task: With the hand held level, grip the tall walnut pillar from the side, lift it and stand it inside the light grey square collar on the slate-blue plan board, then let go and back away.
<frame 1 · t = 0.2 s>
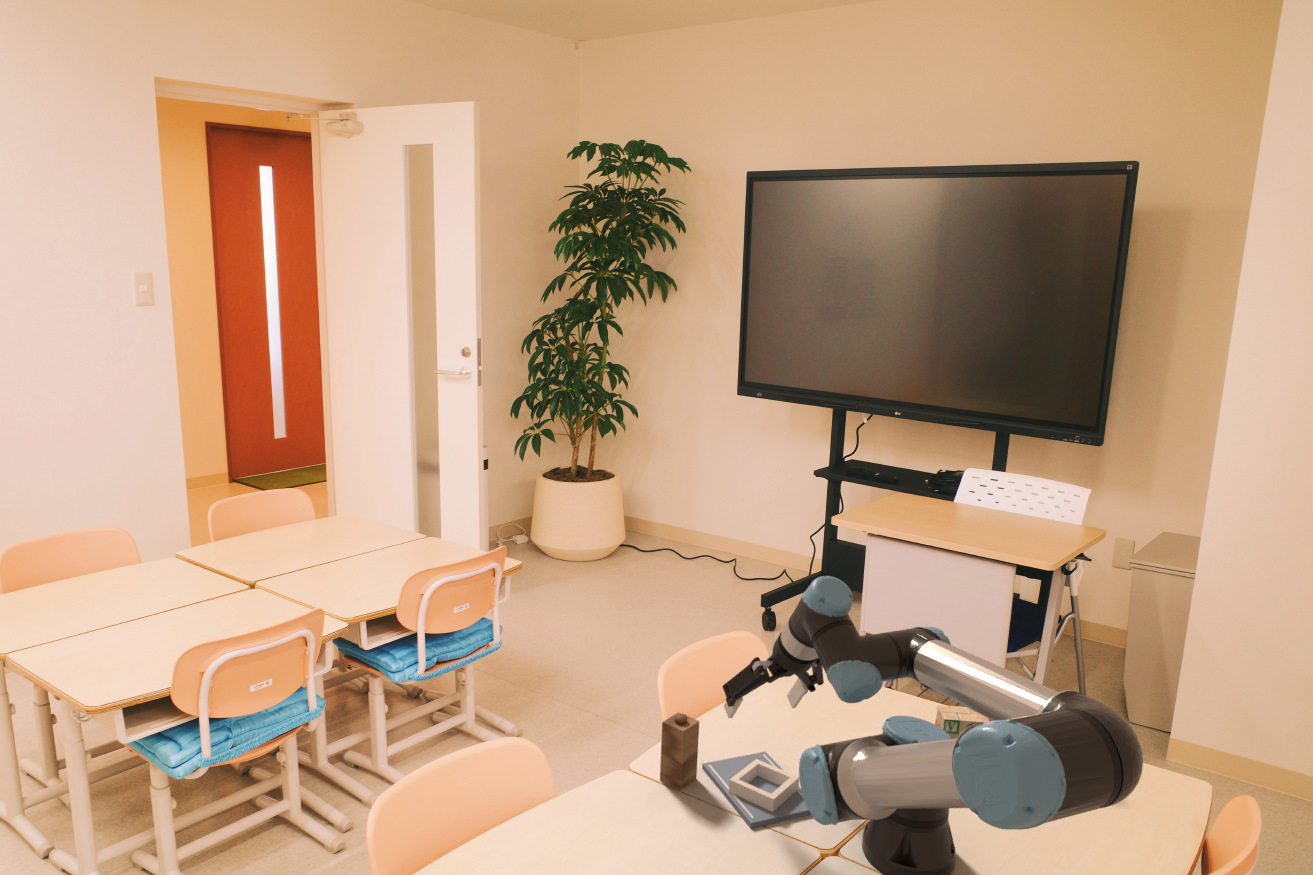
hand: (759, 706, 168), 15 cm above the table, tool tilted 35°, fingers open, 13 cm apart
plan board: (758, 789, 167), on the table
pillar: (678, 779, 169), on the table
socket collar: (763, 795, 165), resting on plan board
stack of blocks: (989, 758, 181), on the table
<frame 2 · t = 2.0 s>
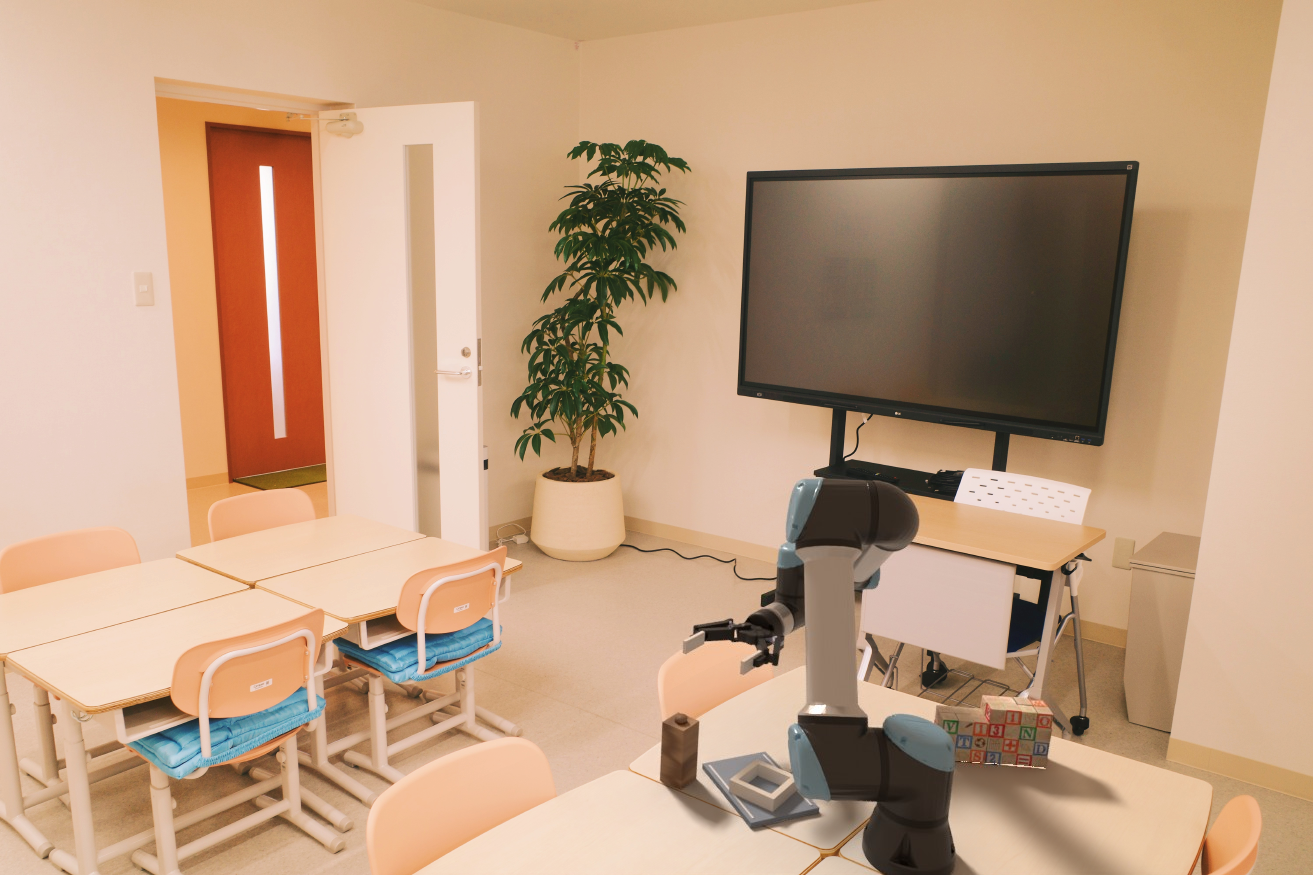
hand: (712, 657, 173), 22 cm above the table, tool horizontal, fingers open, 13 cm apart
nothing on the table moved.
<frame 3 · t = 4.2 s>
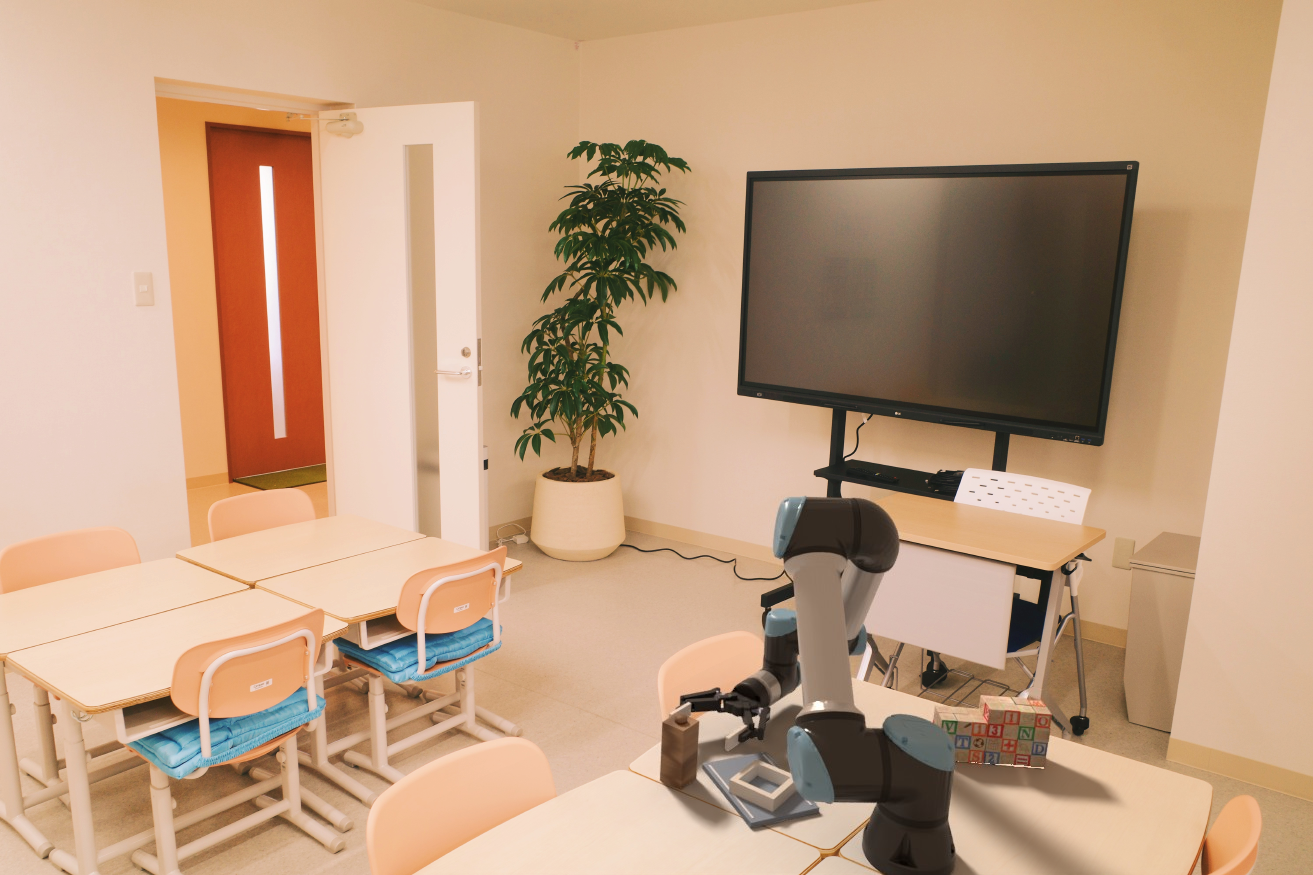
hand: (697, 731, 173), 7 cm above the table, tool horizontal, fingers open, 13 cm apart
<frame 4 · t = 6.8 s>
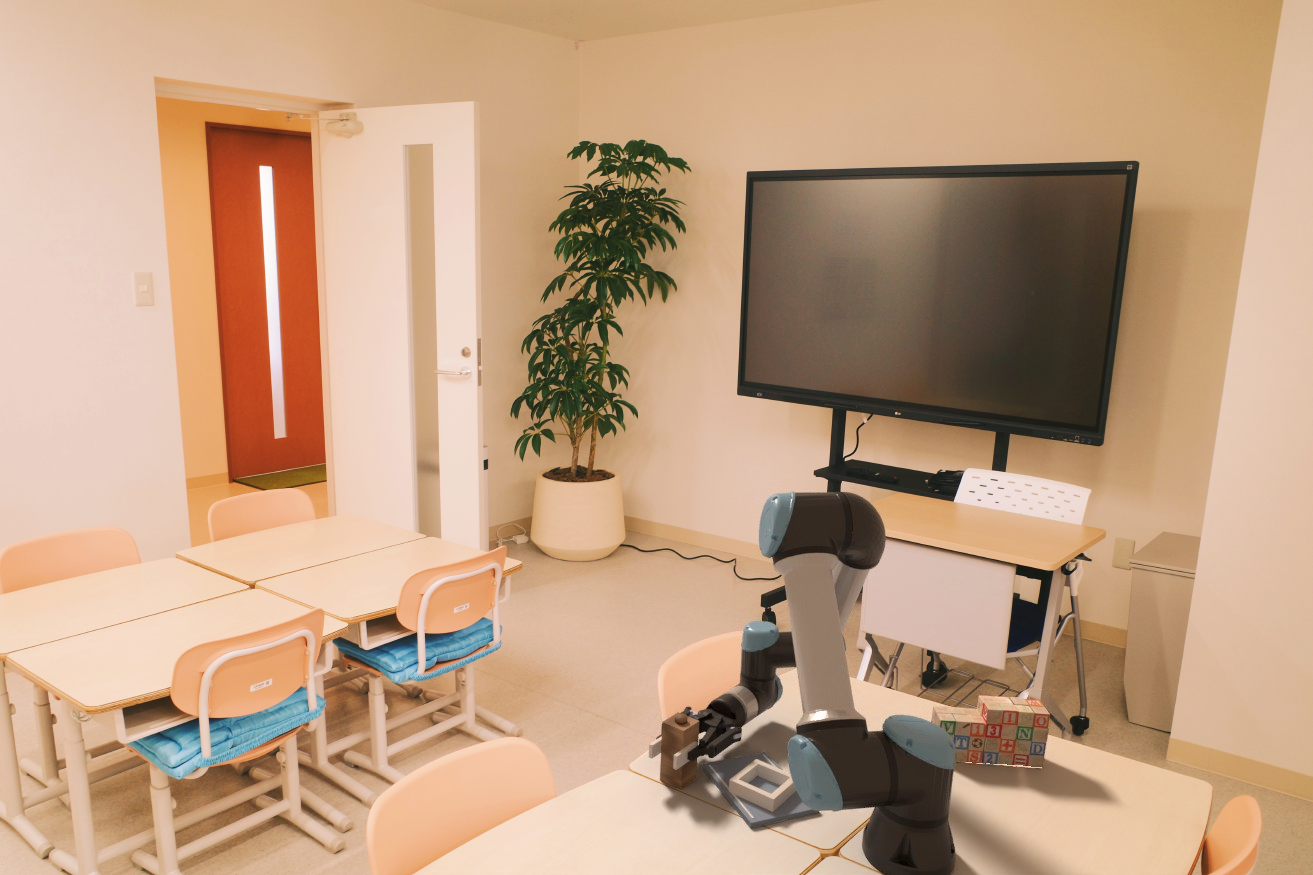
hand: (662, 756, 164), 7 cm above the table, tool horizontal, fingers closed on pillar, 5 cm apart
pillar: (678, 779, 169), on the table, touching gripper
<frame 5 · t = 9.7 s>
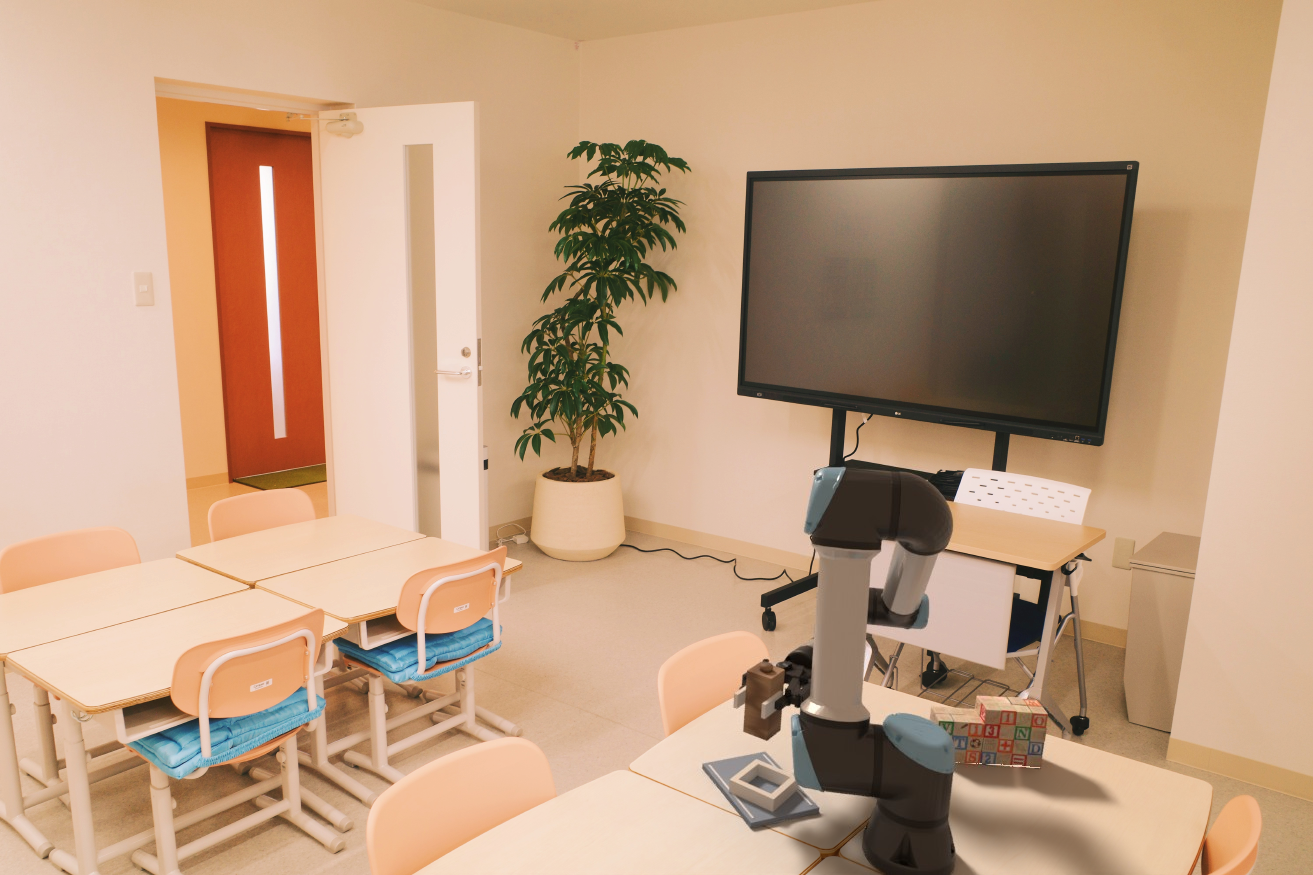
hand: (749, 705, 157), 20 cm above the table, tool horizontal, fingers closed on pillar, 5 cm apart
pillar: (761, 730, 163), point 13 cm above the table, touching gripper
when the fingers open (9 cm above the table, at t = 12.7 s): pillar drops 1 cm, resting on plan board.
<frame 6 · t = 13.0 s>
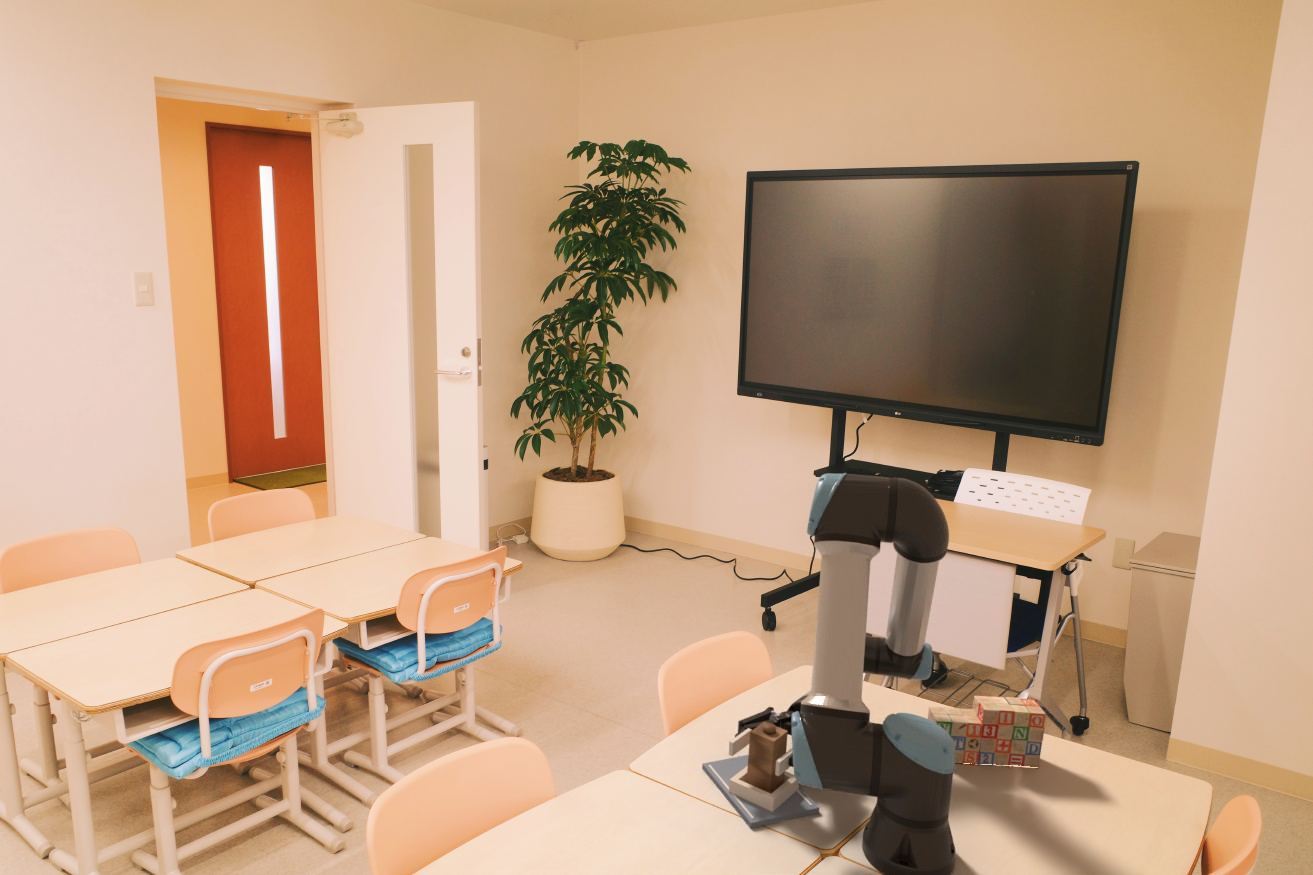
hand: (753, 758, 160), 10 cm above the table, tool horizontal, fingers open, 9 cm apart
pillar: (764, 790, 165), point 1 cm above the table, touching plan board
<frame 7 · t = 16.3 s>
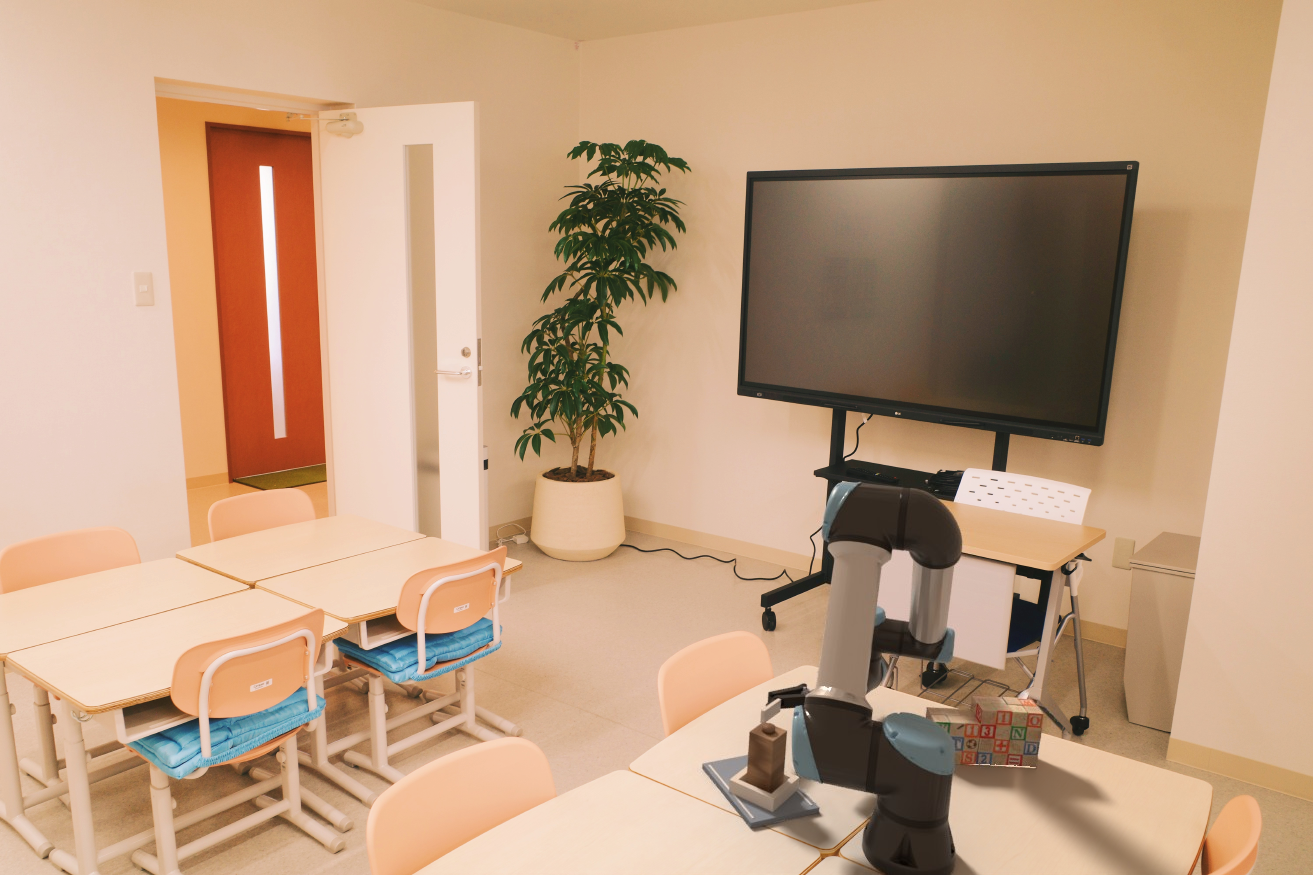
hand: (792, 728, 171), 10 cm above the table, tool horizontal, fingers open, 13 cm apart
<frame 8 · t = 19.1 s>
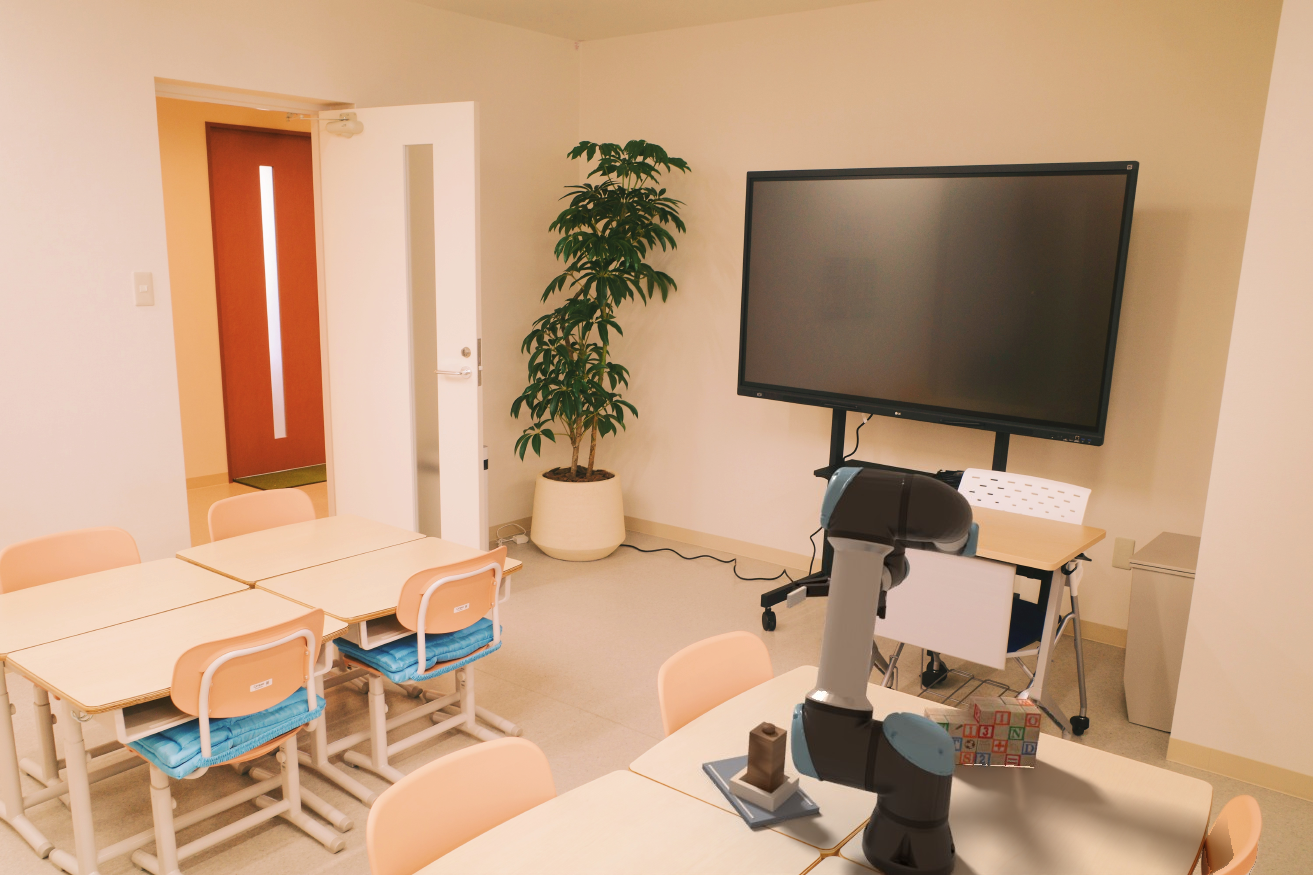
hand: (819, 610, 171), 32 cm above the table, tool horizontal, fingers open, 13 cm apart
at the end: pillar 0.1 cm off-centre on the socket collar, point 1.0 cm above the socket collar's base; pillar tilted 0°; the gripper is holding nothing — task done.
